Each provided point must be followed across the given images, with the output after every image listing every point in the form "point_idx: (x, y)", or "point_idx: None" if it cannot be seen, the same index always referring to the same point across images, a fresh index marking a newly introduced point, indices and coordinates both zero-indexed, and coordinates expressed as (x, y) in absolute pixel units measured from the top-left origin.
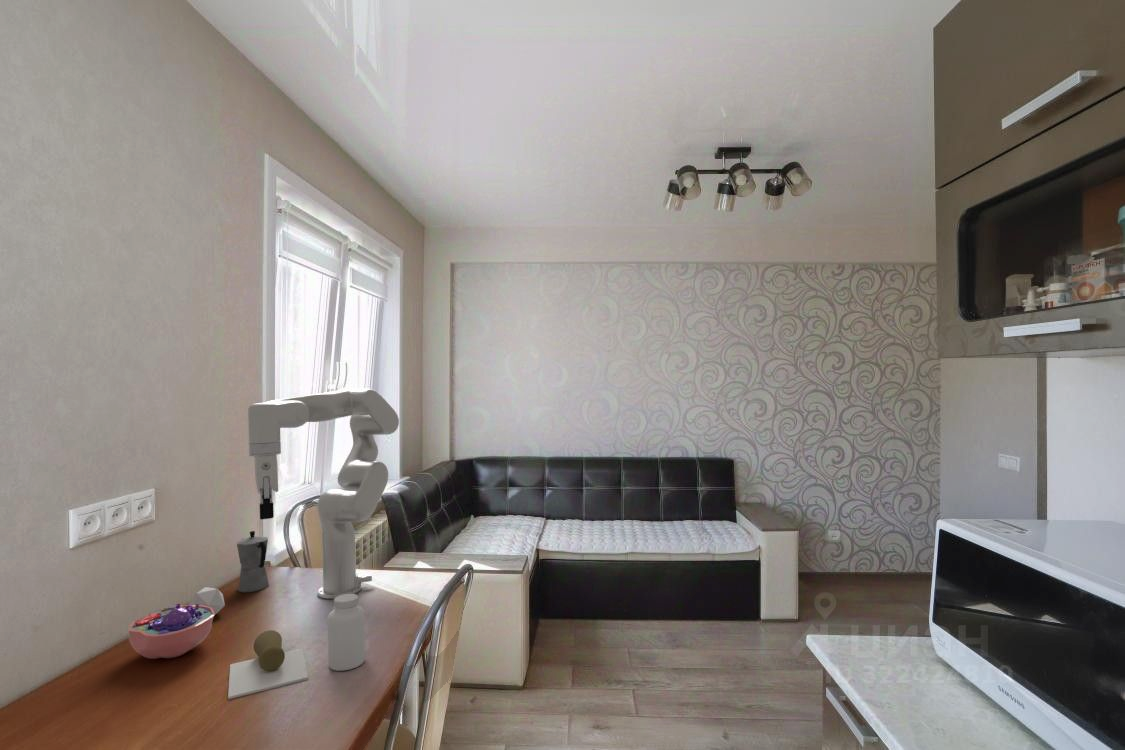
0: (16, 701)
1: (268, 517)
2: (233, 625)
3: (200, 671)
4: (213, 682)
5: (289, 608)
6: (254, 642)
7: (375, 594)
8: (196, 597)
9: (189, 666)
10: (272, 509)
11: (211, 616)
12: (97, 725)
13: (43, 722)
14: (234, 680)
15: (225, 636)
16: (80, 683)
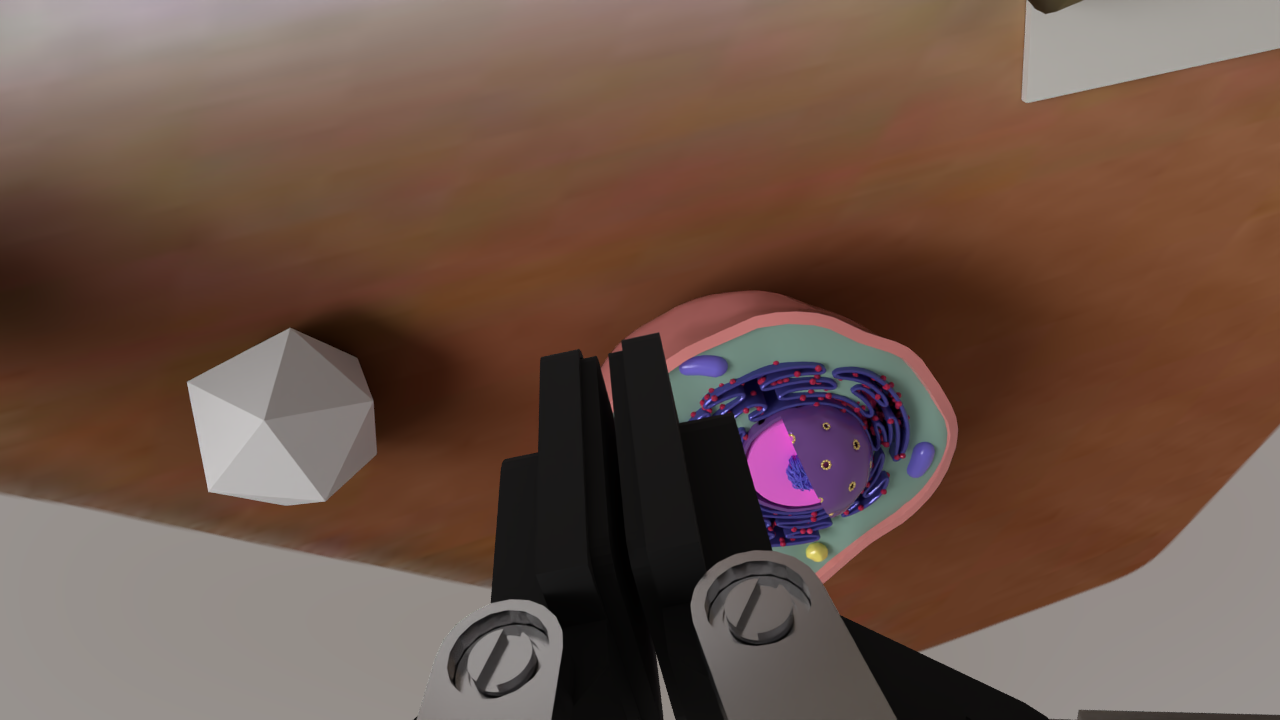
0: None
1: (675, 407)
2: (469, 217)
3: (993, 218)
4: (1147, 132)
5: None
6: (1054, 11)
7: None
8: (337, 484)
9: (911, 277)
10: (680, 444)
11: (809, 319)
12: (1222, 408)
13: (1089, 542)
14: (1229, 37)
15: (617, 218)
16: (857, 562)
